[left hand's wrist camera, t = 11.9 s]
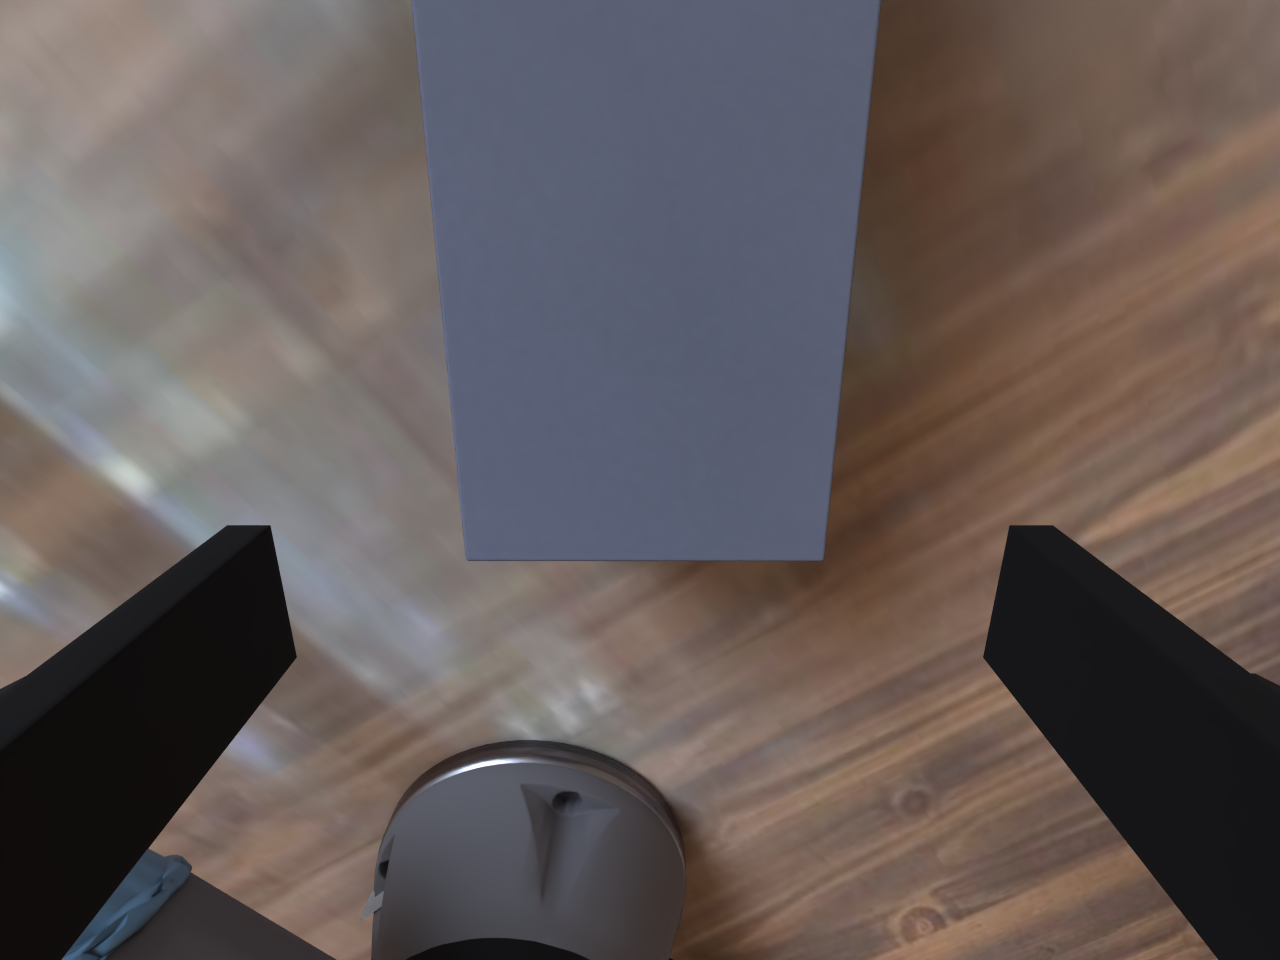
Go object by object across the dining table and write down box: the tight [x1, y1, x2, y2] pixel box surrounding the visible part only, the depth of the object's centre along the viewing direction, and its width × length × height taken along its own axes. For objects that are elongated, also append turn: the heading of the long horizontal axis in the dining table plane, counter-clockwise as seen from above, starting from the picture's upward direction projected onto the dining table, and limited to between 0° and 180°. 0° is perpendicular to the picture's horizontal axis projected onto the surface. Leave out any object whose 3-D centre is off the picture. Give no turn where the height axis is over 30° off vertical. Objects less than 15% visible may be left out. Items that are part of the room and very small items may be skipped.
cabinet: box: [412, 0, 881, 561], centre depth 21 cm, size 21×10×10 cm, turn 0°
